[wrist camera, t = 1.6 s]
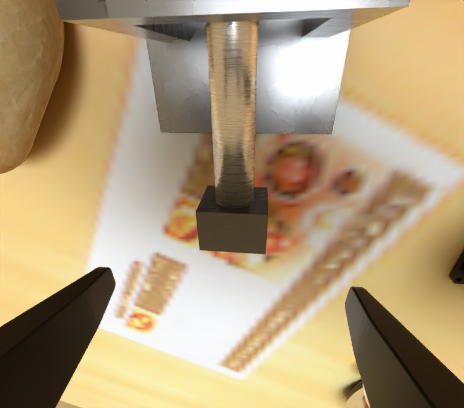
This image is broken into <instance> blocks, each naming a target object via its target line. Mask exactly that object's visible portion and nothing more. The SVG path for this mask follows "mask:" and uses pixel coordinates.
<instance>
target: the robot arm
mask: <svg viewBox="0 0 464 408" xmlns="http://www.w3.org/2000/svg"><path fill="white" fill-rule="evenodd" d="M450 279H451V280H452V282H454V283H456V284H464V252H463V254H462V256H461V258H460V259H459V261H458V263H457V264H456V266H455V268H454V270H453V271H452V273H451V275H450ZM114 289H115V280H114V277H113V274H112V271H111V269H110V268H109V267H98V268H96V269H94V270H93V271H91V272H89V273H88V274H86V275H84V276H83V277H81V278H80V279H78V280H76V281H75V282H73V283H71V284H70V285H68V286H66V287H65V288H63V289H62V290H60V291H58V292H57V293H55V294H53V295H52V296H50V297H48V298H47V299H45V300H43V301H42V302H40V303H39V304H37V305H35V306H34V307H32V308H30V309H29V310H27V311H25V312H24V313H22V314H21V315H19V316H17V317H16V318H14V319H12V320H11V321H9V322H7V323H6V324H4V325H2V326H1V327H0V408H55V407H56V406H57V404H58V402H59V400H60V398H61V396H62V394H63V393H64V391H65V389H66V387H67V385H68V383H69V381H70V379H71V378H72V376H73V374H74V372H75V370H76V368H77V366H78V364H79V363H80V361H81V359H82V357H83V355H84V353H85V351H86V349H87V348H88V346H89V344H90V342H91V340H92V338H93V336H94V334H95V333H96V331H97V329H98V327H99V325H100V322H101V320H102V318H103V315H104V313H105V311H106V308H107V306H108V303H109V301H110V298H111V296H112V294H113V291H114ZM345 309H346V315H347V320H348V325H349V331H350V336H351V341H352V346H353V351H354V355H355V359H356V362H357V366H358V369H359V372H360V376H361V379H362V382H363V385H364V389H365V392H366V395H367V399H368V402H369V405H370V408H464V383H463V382H461V381H460V380H459V379H458V378H457V377H456V376H455V375H454V374H453V373H452V372H451V371H450V370H449V369H448V368H447V367H446V366H445V365H444V364H443V363H442V362H441V361H440V360H439V359H438V358H436V357H435V356H434V355H433V354H432V353H431V352H430V351H429V350H428V349H427V348H426V347H425V346H424V345H423V344H422V343H421V342H420V341H419V340H418V339H417V338H416V337H415V336H414V335H413V334H412V333H410V332H409V331H408V330H407V329H406V328H405V327H404V326H403V325H402V324H401V323H400V322H399V321H398V320H397V319H396V318H395V317H394V316H393V315H392V314H391V313H390V312H389V311H388V310H387V309H385V308H384V307H383V306H382V305H381V304H380V303H379V302H378V301H377V300H376V299H375V298H374V297H373V296H372V295H371V294H370V293H369V292H368V291H367V290H366V289H364V288H362V287H351V288H350V289H349V292H348V295H347V298H346V302H345Z"/></svg>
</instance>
